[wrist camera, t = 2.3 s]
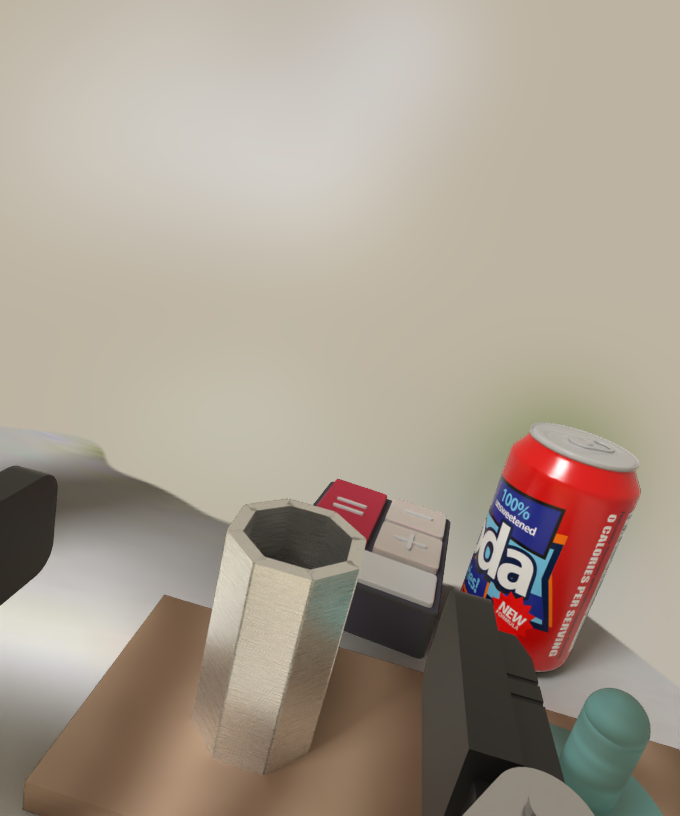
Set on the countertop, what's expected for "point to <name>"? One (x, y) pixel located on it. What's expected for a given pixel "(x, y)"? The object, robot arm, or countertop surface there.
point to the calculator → (393, 566)
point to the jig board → (329, 752)
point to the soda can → (552, 536)
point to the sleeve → (274, 631)
